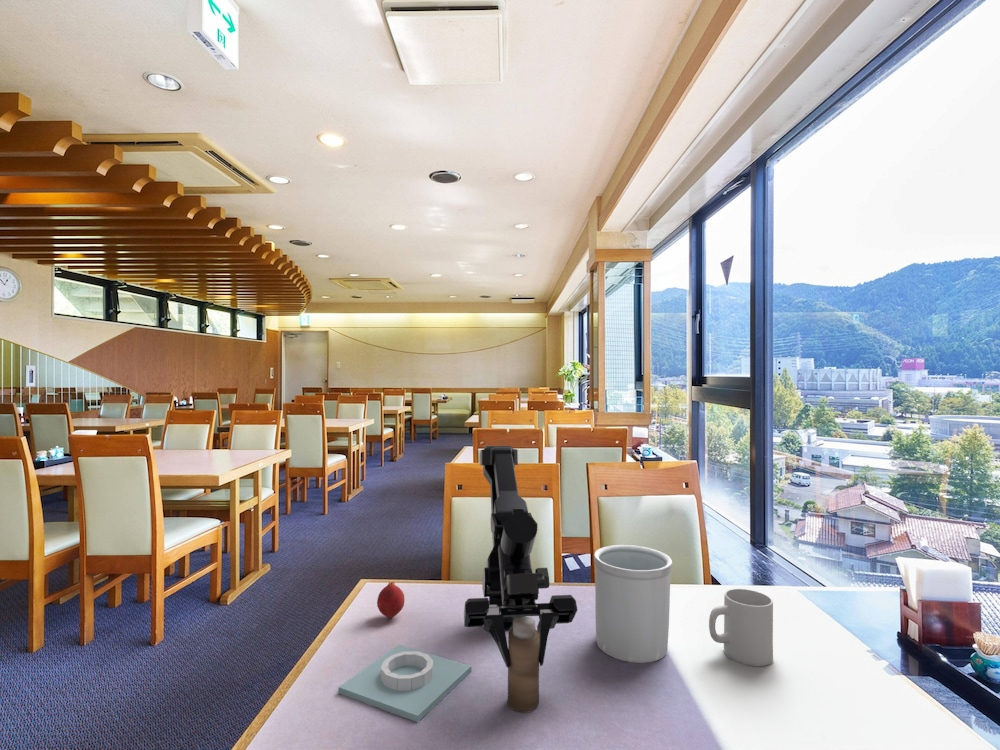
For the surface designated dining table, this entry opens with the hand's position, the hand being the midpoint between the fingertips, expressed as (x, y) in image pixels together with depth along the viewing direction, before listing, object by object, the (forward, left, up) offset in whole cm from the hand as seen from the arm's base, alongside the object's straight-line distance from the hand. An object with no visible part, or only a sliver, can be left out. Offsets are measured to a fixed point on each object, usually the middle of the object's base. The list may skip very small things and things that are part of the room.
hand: (525, 665), depth 85 cm
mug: (-34, +29, -7) cm, 46 cm away
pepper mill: (-1, -1, -7) cm, 7 cm away
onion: (-15, -39, -7) cm, 42 cm away
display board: (+3, -21, -7) cm, 22 cm away
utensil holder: (-28, +10, -7) cm, 31 cm away
